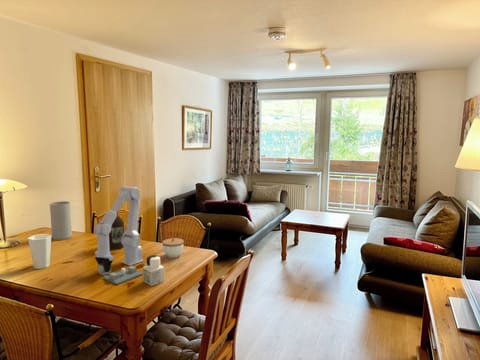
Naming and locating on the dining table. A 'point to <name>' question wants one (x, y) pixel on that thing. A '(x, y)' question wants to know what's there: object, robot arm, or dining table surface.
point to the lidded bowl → (173, 247)
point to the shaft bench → (125, 278)
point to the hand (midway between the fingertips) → (104, 270)
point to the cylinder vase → (60, 220)
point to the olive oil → (116, 234)
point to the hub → (102, 269)
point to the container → (153, 271)
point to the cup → (40, 250)
